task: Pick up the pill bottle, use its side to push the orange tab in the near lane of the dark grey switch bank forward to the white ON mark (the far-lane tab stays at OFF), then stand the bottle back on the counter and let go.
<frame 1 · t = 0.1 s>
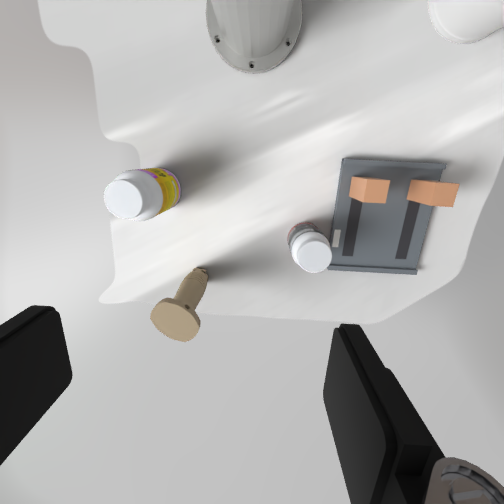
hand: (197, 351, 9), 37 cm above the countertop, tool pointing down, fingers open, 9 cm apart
switch bank: (379, 218, 44), on the countertop
tab 1: (367, 189, 38), point 4 cm above the countertop, slide at 0.0 cm
pill bottle: (303, 237, 46), on the countertop
supplement bottle: (162, 188, 44), on the countertop
handle: (200, 274, 49), on the countertop
tab 2: (430, 192, 38), point 4 cm above the countertop, slide at 0.0 cm
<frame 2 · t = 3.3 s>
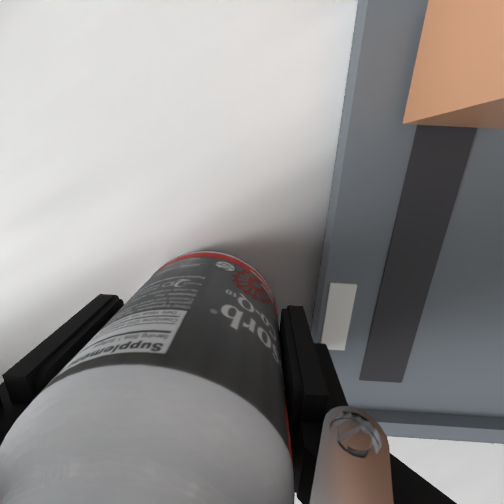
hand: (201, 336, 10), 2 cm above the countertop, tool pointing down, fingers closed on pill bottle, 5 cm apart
pill bottle: (212, 305, 12), on the countertop, touching gripper
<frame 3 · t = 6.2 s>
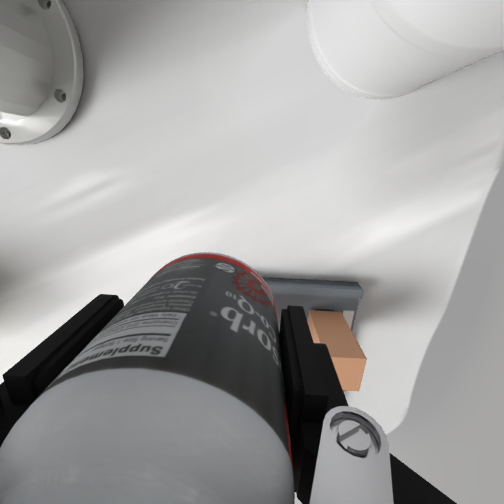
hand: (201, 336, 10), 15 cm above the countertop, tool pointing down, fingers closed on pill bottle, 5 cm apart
switch bank: (271, 355, 28), on the countertop
jar: (388, 7, 19), on the countertop
pill bottle: (212, 306, 12), point 13 cm above the countertop, touching gripper
tab 2: (331, 346, 22), point 4 cm above the countertop, slide at 0.0 cm
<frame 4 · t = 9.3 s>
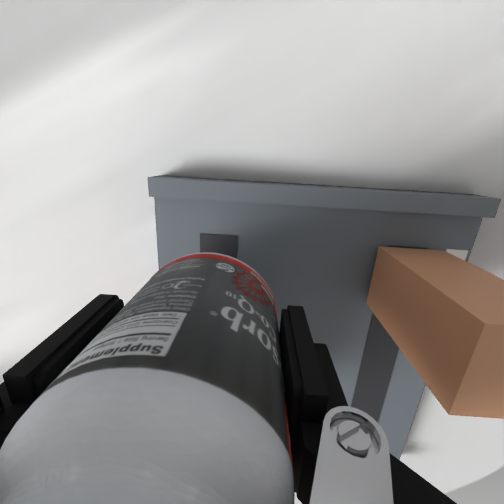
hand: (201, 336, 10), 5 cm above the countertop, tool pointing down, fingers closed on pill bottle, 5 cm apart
switch bank: (295, 340, 16), on the countertop
pill bottle: (212, 306, 12), point 3 cm above the countertop, touching gripper, tab 1
tab 2: (445, 312, 10), point 4 cm above the countertop, slide at 0.0 cm
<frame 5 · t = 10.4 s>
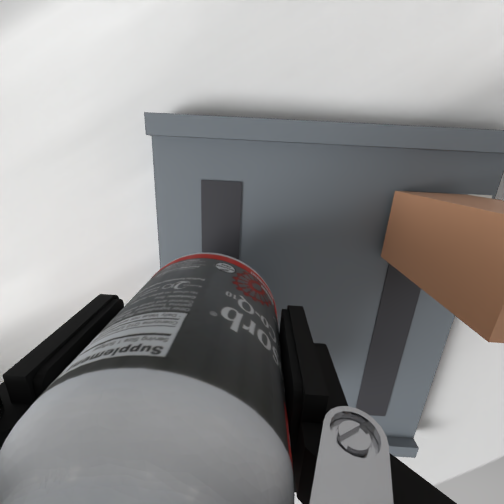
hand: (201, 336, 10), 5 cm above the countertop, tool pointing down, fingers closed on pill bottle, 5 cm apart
switch bank: (303, 304, 15), on the countertop
pill bottle: (212, 306, 12), point 3 cm above the countertop, touching gripper
tab 2: (474, 248, 9), point 4 cm above the countertop, slide at 0.0 cm
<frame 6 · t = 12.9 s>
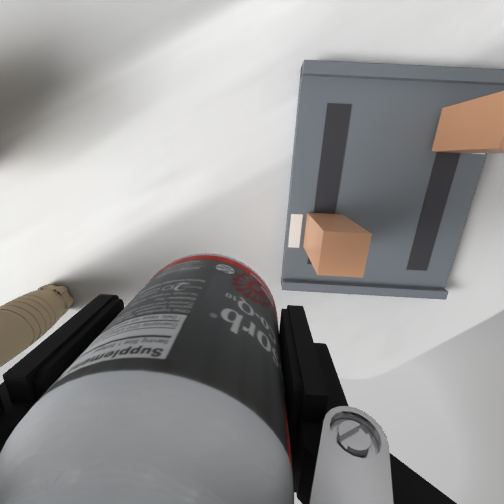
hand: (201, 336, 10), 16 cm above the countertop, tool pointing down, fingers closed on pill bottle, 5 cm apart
switch bank: (376, 193, 23), on the countertop
tab 1: (331, 241, 20), point 4 cm above the countertop, slide at 8.3 cm
pill bottle: (212, 307, 12), point 13 cm above the countertop, touching gripper
handle: (60, 295, 28), on the countertop
tab 2: (490, 126, 17), point 4 cm above the countertop, slide at 0.0 cm
when the fingers open (3 cm above the countertop, at t = 15.4 s): pill bottle drops 1 cm, on the countertop.
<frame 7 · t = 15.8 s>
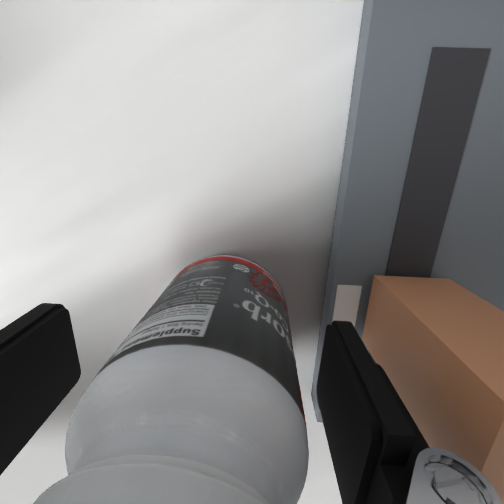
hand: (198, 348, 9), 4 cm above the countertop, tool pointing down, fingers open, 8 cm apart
tab 1: (454, 361, 8), point 4 cm above the countertop, slide at 7.9 cm, touching gripper
pill bottle: (227, 304, 13), on the countertop
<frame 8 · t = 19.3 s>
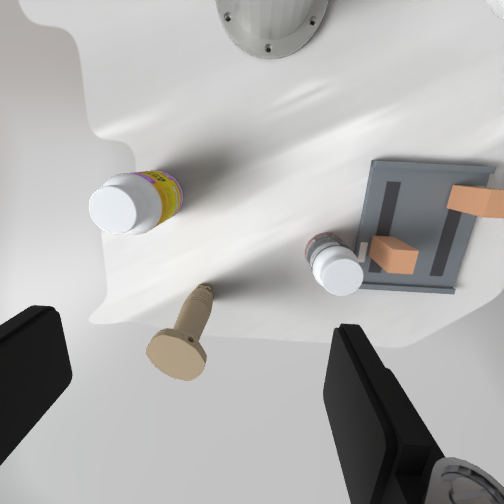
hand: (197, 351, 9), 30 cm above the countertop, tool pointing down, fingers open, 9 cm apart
switch bank: (412, 229, 38), on the countertop
tab 1: (391, 253, 35), point 4 cm above the countertop, slide at 7.3 cm
pill bottle: (323, 250, 40), on the countertop
supplement bottle: (161, 194, 38), on the countertop
handle: (204, 291, 43), on the countertop
tab 2: (479, 200, 32), point 4 cm above the countertop, slide at 0.0 cm
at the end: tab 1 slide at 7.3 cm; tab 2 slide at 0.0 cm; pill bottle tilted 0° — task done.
